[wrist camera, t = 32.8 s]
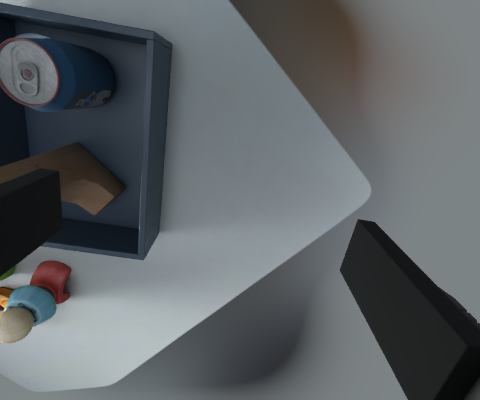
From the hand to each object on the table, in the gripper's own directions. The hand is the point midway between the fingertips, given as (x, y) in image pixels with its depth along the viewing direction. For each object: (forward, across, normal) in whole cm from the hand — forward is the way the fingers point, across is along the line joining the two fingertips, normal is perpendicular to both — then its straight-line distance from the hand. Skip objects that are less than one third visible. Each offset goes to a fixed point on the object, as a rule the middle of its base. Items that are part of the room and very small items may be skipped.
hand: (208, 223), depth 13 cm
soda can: (+28, -19, +4) cm, 34 cm away
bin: (+29, -19, -4) cm, 35 cm away
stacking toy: (+29, -32, -32) cm, 54 cm away
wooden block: (+28, -19, -9) cm, 35 cm away
